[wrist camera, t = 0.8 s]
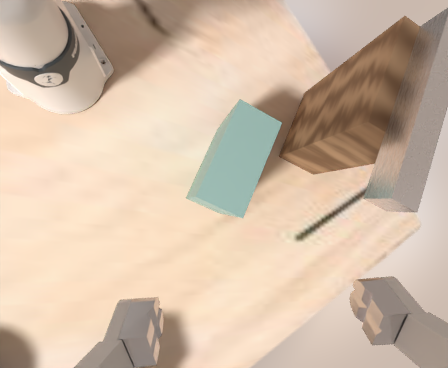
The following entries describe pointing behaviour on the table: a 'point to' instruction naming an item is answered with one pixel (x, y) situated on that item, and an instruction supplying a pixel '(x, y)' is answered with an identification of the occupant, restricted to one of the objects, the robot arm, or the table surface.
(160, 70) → the table surface
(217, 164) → the mint green rectangular block
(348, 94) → the stand
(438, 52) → the rail
